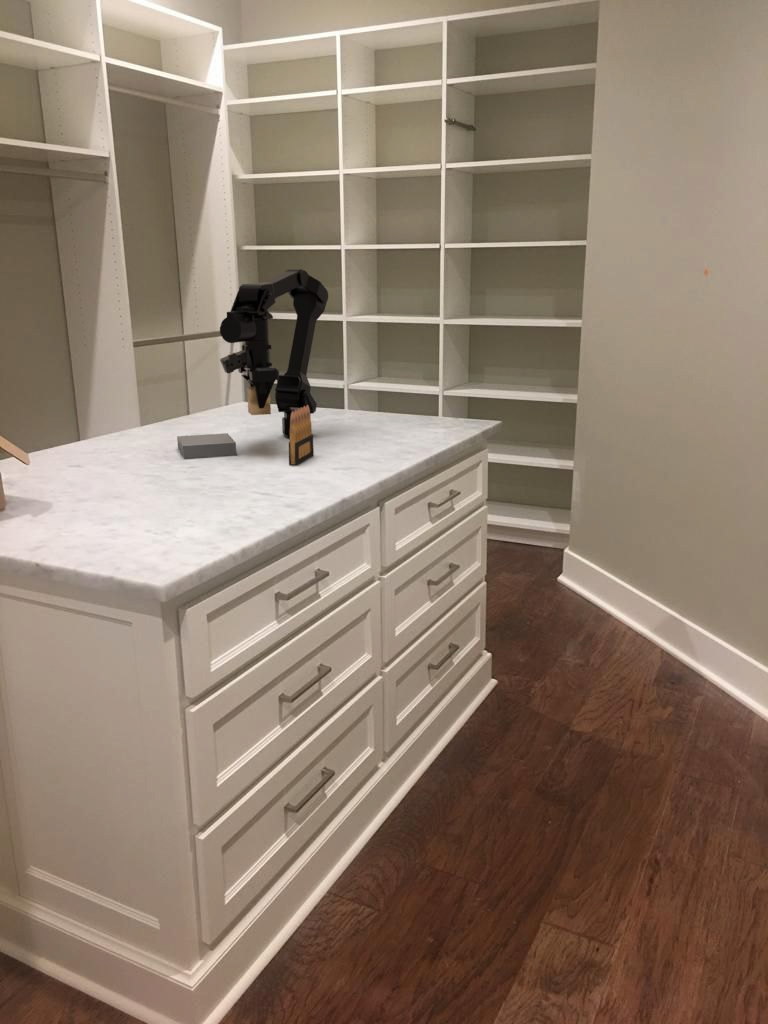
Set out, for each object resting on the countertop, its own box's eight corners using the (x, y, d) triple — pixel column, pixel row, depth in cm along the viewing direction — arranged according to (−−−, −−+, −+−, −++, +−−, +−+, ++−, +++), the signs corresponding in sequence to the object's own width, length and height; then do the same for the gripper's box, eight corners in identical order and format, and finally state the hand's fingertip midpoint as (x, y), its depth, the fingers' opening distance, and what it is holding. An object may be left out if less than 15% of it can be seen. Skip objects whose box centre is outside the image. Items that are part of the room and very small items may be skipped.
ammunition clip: (296, 465, 186) (295, 411, 182) (288, 465, 186) (287, 411, 183) (313, 455, 196) (312, 404, 192) (306, 455, 196) (305, 403, 193)
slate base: (228, 445, 207) (227, 433, 206) (236, 455, 196) (235, 442, 195) (177, 448, 203) (177, 436, 202) (183, 458, 192) (182, 446, 191)
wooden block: (266, 411, 204) (265, 386, 202) (270, 414, 200) (269, 388, 198) (248, 412, 202) (247, 387, 201) (251, 415, 198) (250, 389, 197)
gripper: (215, 337, 202) (219, 402, 206) (228, 344, 185) (232, 414, 190) (261, 336, 206) (264, 400, 210) (278, 342, 189) (280, 412, 193)
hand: (259, 406), depth 201 cm, fingers closed on wooden block, 4 cm apart
